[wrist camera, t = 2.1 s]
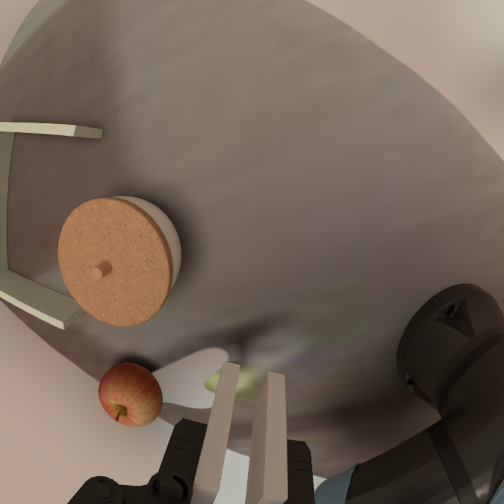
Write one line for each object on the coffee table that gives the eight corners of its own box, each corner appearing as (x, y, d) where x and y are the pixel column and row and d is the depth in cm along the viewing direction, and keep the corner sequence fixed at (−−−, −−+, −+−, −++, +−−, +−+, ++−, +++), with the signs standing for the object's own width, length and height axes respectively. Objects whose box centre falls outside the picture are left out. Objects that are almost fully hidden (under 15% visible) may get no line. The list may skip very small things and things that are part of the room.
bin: (103, 129, 26) (75, 125, 21) (85, 310, 32) (63, 329, 27) (12, 123, 26) (-15, 122, 21) (4, 274, 32) (-18, 286, 27)
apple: (149, 407, 35) (130, 448, 28) (104, 371, 34) (77, 408, 27) (182, 383, 34) (164, 429, 26) (132, 341, 32) (102, 381, 25)
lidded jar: (105, 286, 31) (58, 325, 22) (98, 189, 28) (39, 202, 19) (196, 296, 30) (167, 346, 21) (195, 189, 27) (159, 200, 18)
